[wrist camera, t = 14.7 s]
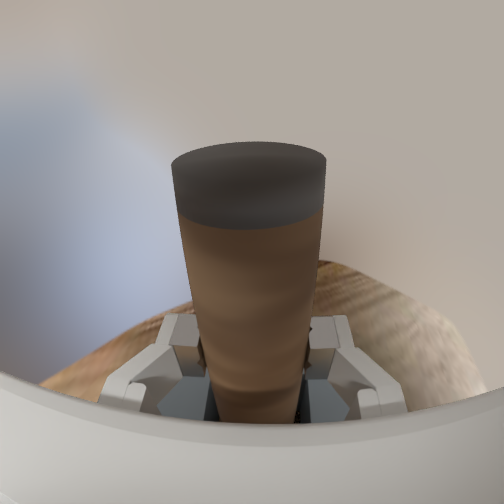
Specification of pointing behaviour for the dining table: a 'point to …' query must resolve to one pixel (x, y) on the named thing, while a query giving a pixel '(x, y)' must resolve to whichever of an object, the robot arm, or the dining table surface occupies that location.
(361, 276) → the dining table surface
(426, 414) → the robot arm
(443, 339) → the dining table surface
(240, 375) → the walnut dowel
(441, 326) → the dining table surface
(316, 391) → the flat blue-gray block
